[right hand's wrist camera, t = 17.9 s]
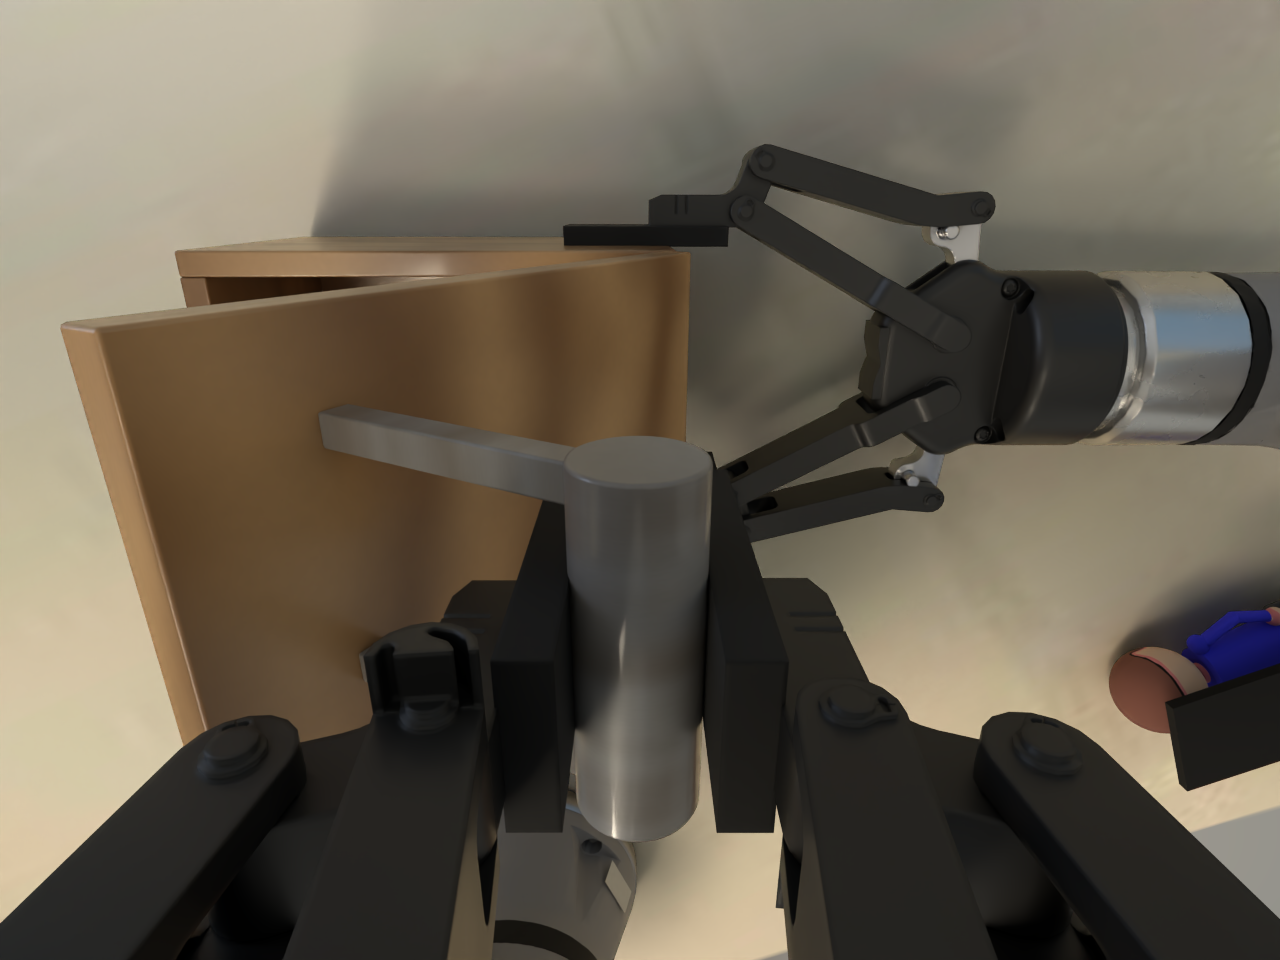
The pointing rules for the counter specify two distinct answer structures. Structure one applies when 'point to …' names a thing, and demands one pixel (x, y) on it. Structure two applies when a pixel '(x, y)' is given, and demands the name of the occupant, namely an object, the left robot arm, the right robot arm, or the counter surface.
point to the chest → (364, 263)
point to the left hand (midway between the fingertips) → (571, 359)
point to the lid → (418, 496)
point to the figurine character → (1210, 696)
